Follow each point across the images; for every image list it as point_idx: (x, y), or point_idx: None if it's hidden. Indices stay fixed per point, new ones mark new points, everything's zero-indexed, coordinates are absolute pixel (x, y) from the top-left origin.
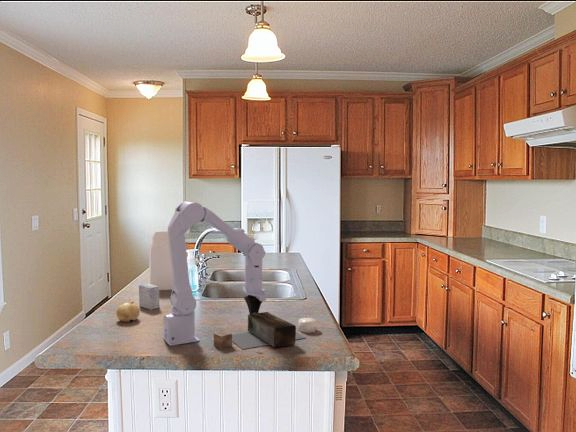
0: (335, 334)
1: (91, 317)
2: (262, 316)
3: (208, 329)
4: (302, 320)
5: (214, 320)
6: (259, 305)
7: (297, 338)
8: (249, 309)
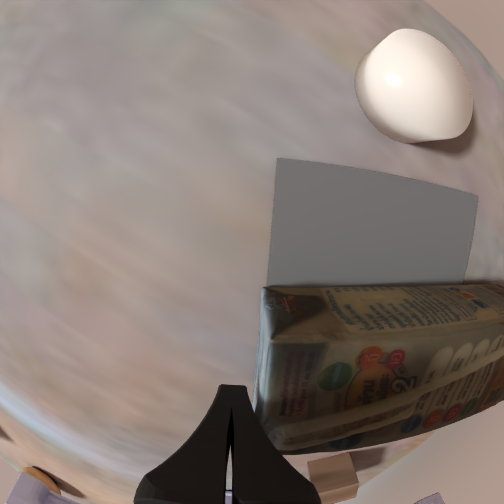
0: (481, 64)
1: None
2: (384, 425)
3: (144, 450)
4: (424, 105)
5: (48, 389)
6: (276, 455)
7: (469, 233)
8: (227, 462)
